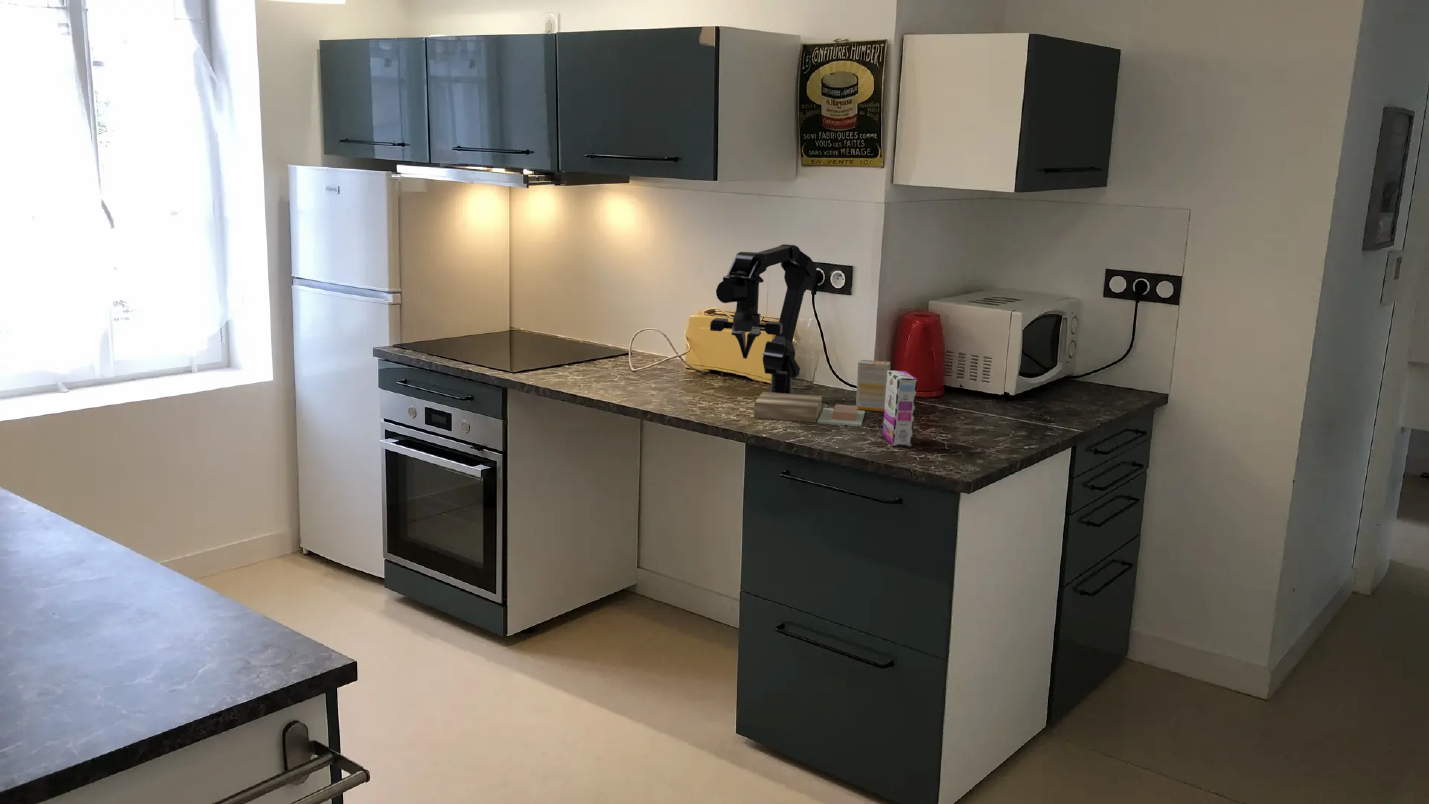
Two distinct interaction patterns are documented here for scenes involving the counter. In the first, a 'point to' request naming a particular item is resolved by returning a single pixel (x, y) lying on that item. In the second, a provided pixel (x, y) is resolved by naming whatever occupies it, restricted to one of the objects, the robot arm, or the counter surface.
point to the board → (788, 407)
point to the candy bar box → (899, 408)
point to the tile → (845, 412)
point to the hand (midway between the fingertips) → (745, 358)
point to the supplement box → (872, 385)
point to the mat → (827, 419)
